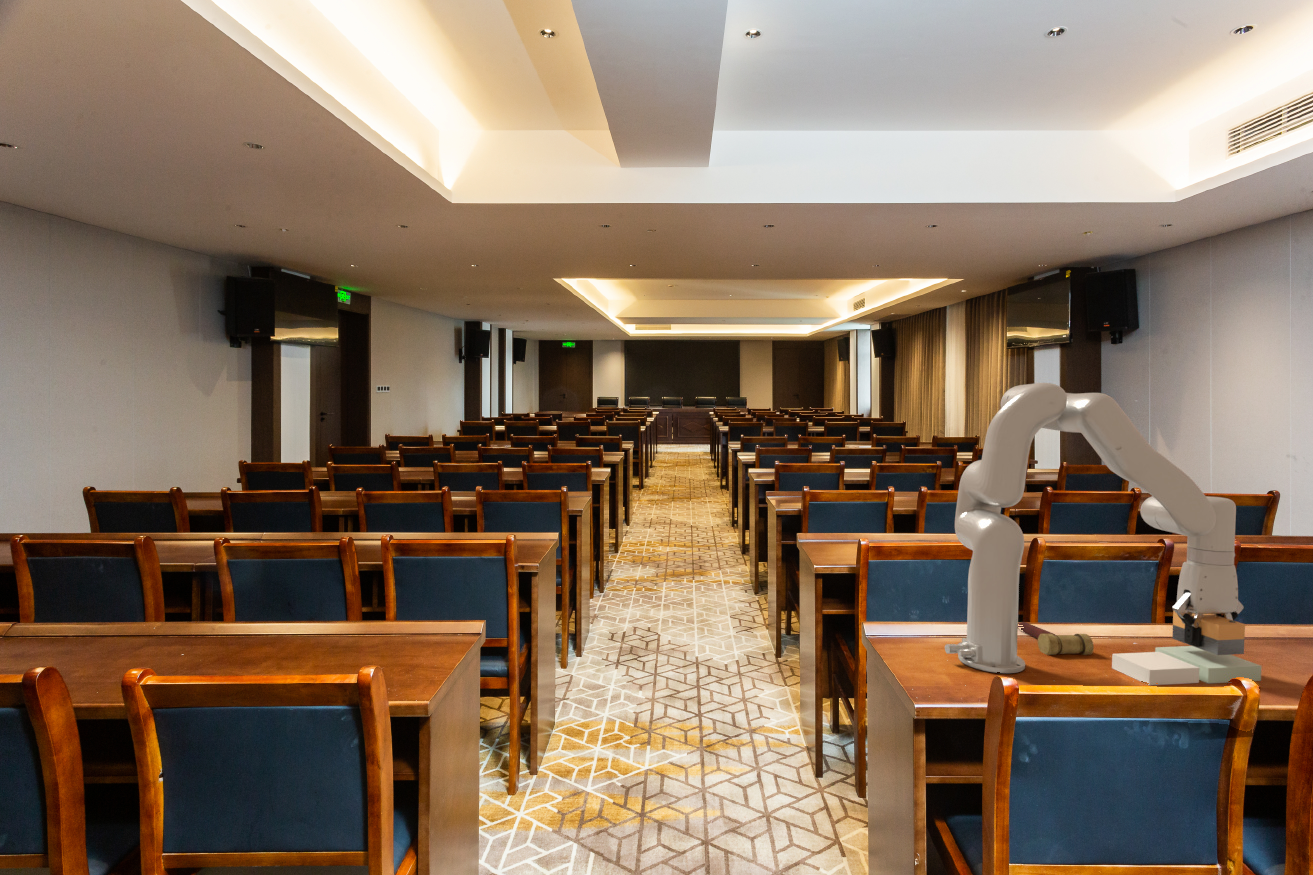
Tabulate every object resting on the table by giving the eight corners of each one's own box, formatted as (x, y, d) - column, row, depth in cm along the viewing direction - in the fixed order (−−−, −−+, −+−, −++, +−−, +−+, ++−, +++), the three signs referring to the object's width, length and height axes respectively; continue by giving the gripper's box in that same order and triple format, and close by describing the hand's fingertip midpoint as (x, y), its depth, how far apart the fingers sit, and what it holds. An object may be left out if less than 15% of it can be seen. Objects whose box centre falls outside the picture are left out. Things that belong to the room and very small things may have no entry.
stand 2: (1208, 683, 133) (1208, 668, 133) (1154, 661, 145) (1155, 647, 145) (1260, 680, 135) (1261, 665, 135) (1204, 658, 147) (1204, 645, 146)
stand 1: (1149, 685, 132) (1149, 669, 132) (1111, 667, 141) (1112, 653, 141) (1198, 682, 133) (1199, 667, 133) (1158, 665, 142) (1159, 651, 142)
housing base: (1172, 638, 144) (1172, 624, 144) (1197, 637, 145) (1197, 623, 145) (1217, 655, 134) (1218, 640, 134) (1243, 653, 135) (1244, 638, 135)
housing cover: (1172, 624, 144) (1173, 609, 144) (1197, 623, 145) (1198, 608, 145) (1218, 640, 134) (1218, 624, 134) (1244, 638, 135) (1245, 623, 135)
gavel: (996, 614, 168) (1035, 614, 169) (996, 633, 168) (1035, 633, 168) (1049, 636, 147) (1094, 636, 148) (1049, 657, 147) (1094, 657, 148)
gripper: (1228, 552, 144) (1225, 636, 144) (1156, 554, 141) (1153, 639, 142) (1265, 560, 136) (1261, 648, 137) (1189, 562, 134) (1186, 652, 135)
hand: (1206, 643), depth 140 cm, fingers closed on housing base, housing cover, 6 cm apart
